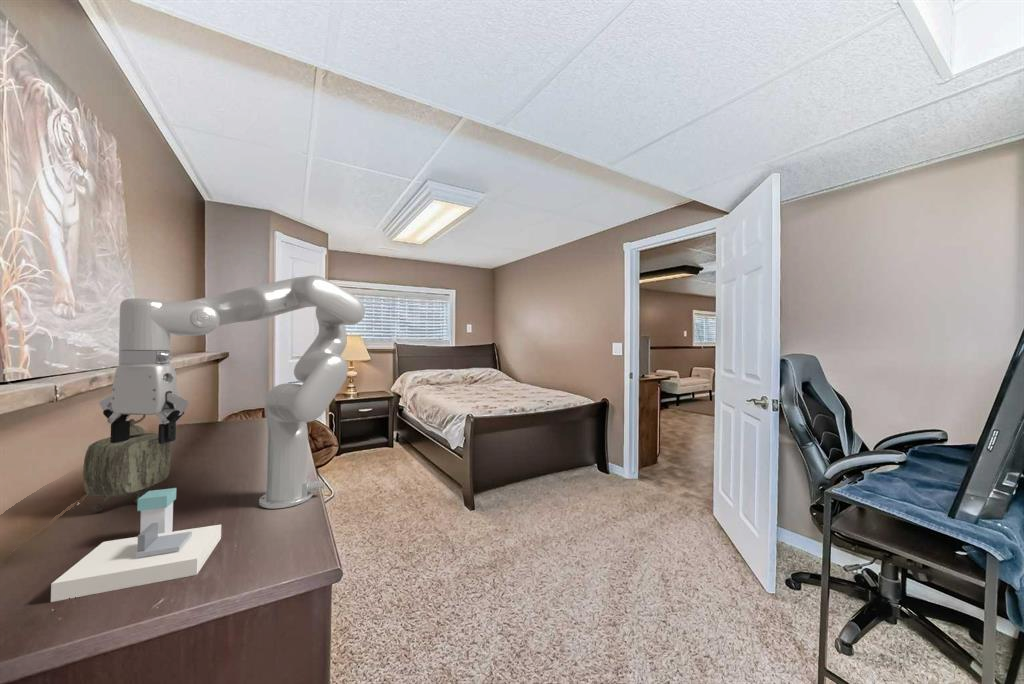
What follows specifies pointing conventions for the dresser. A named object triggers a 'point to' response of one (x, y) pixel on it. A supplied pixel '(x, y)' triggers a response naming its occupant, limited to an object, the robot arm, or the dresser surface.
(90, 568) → the socket
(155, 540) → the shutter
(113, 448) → the tabletop clock
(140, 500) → the plug
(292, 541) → the dresser surface
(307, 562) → the dresser surface
